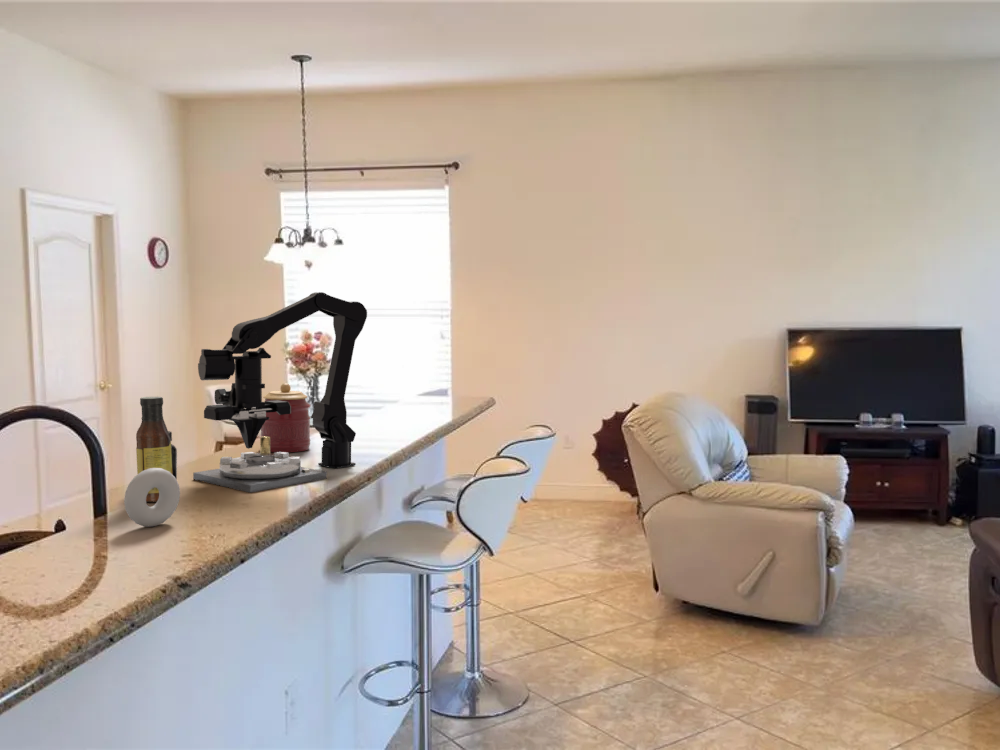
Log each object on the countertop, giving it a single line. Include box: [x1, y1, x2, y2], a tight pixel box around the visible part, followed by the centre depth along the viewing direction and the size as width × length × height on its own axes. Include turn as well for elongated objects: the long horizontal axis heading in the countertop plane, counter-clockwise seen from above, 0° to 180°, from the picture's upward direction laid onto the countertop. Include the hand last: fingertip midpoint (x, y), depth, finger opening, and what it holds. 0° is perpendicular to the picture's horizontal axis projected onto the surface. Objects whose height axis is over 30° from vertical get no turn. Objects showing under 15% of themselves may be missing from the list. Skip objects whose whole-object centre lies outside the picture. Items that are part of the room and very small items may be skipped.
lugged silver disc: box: [219, 436, 302, 479], centre depth 184 cm, size 17×17×6 cm
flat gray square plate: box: [192, 466, 328, 494], centre depth 184 cm, size 20×20×2 cm
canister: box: [260, 383, 311, 454], centre depth 223 cm, size 13×13×18 cm
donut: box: [123, 468, 181, 528], centre depth 142 cm, size 10×4×10 cm, turn 148°
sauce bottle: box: [135, 396, 173, 503], centre depth 161 cm, size 6×6×20 cm
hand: (249, 448), depth 189 cm, fingers closed
